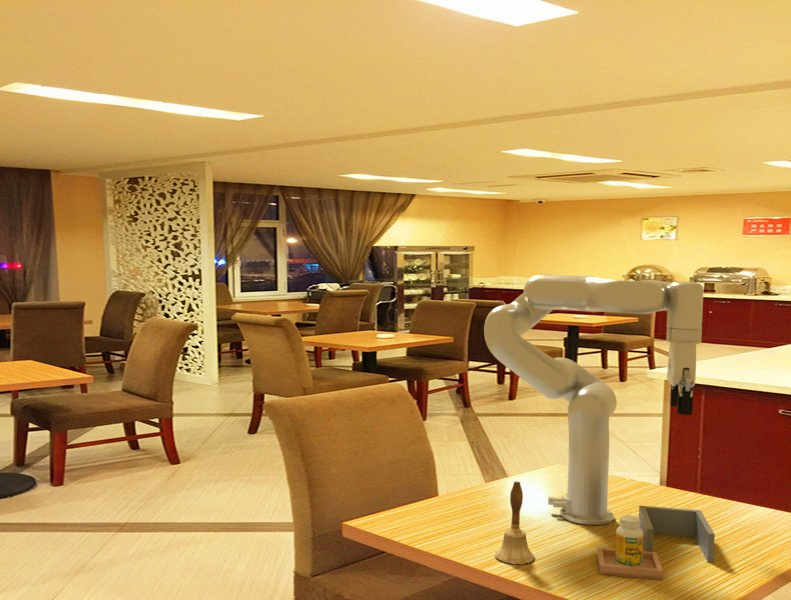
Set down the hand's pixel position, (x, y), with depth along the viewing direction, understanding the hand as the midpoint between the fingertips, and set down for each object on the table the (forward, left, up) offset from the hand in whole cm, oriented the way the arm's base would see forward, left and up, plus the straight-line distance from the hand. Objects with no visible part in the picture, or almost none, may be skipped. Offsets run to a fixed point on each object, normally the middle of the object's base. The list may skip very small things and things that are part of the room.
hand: (681, 410), depth 181 cm
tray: (-13, -25, -28) cm, 40 cm away
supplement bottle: (-13, -25, -28) cm, 40 cm away
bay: (-2, -10, -28) cm, 30 cm away
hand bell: (-36, -25, -29) cm, 52 cm away
